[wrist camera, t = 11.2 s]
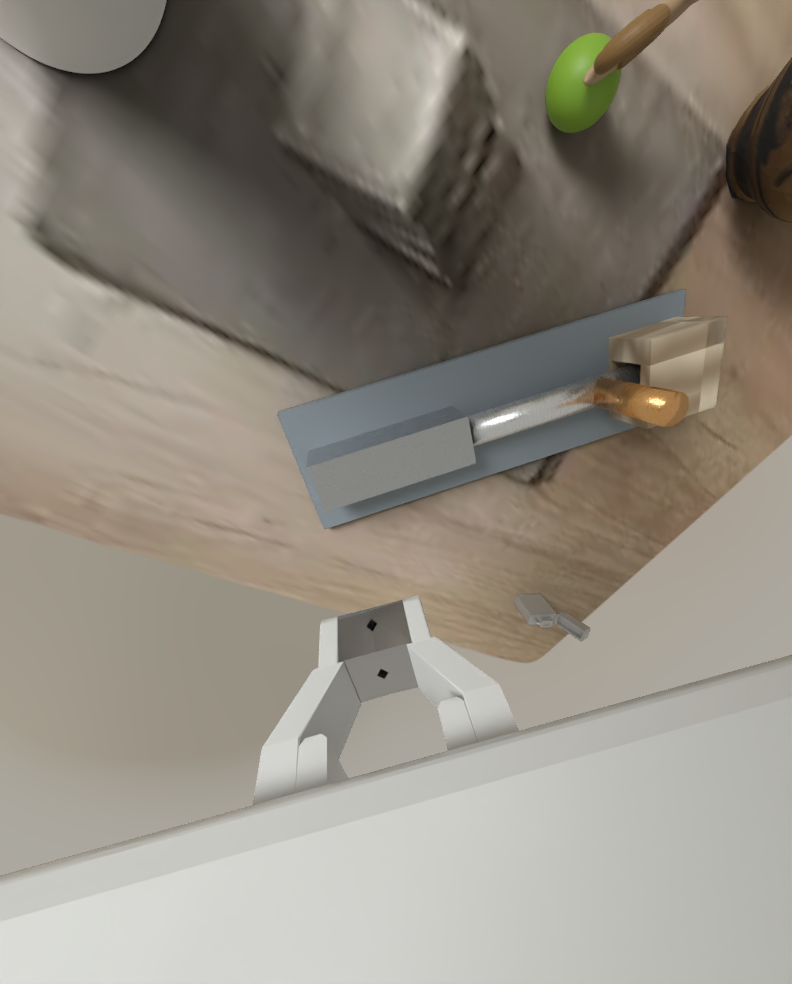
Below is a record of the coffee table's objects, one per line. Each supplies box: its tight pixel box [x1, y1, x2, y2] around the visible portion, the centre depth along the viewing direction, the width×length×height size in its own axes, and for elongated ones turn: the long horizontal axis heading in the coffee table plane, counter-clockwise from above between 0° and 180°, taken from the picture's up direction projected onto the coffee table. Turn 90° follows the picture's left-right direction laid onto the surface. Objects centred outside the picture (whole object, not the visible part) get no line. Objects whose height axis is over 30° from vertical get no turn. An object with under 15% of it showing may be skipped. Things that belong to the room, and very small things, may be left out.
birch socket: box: [609, 316, 727, 429], centre depth 40 cm, size 9×8×6 cm
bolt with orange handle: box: [468, 364, 689, 447], centre depth 36 cm, size 3×24×11 cm, turn 105°
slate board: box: [277, 289, 686, 529], centre depth 42 cm, size 14×45×1 cm, turn 105°
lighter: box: [514, 594, 590, 641], centre depth 53 cm, size 7×2×8 cm, turn 85°
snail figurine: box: [545, 0, 698, 133], centre depth 27 cm, size 5×6×12 cm
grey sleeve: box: [307, 406, 476, 512], centre depth 39 cm, size 5×16×5 cm, turn 105°
